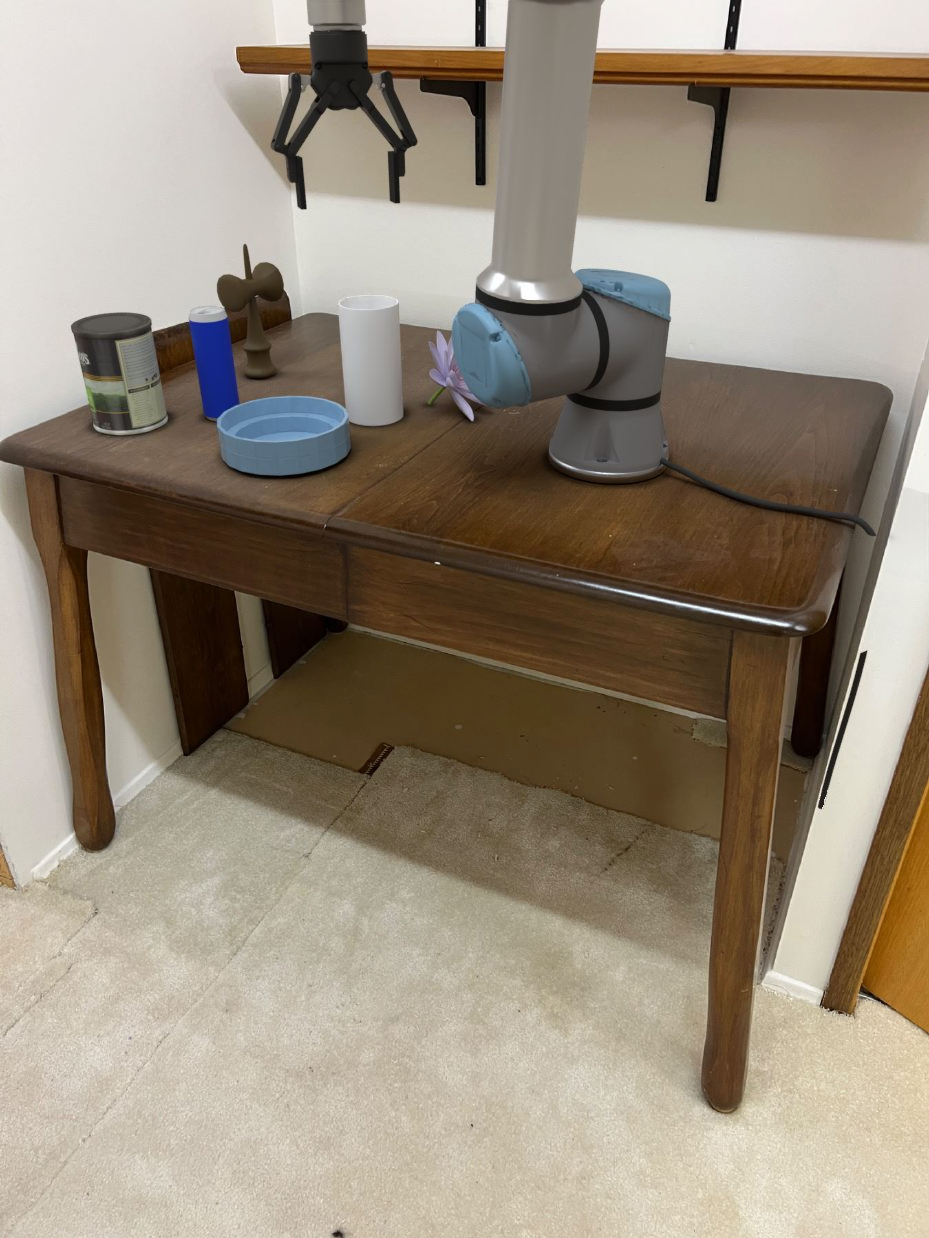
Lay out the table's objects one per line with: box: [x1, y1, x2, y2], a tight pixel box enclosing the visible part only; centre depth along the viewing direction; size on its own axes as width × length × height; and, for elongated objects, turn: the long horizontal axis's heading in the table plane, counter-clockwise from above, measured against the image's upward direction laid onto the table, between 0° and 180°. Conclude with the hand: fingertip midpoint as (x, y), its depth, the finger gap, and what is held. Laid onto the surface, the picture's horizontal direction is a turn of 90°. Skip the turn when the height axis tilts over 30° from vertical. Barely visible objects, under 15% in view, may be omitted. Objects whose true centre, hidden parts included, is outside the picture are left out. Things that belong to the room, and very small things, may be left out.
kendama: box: [216, 243, 285, 379], centre depth 145 cm, size 6×10×20 cm, turn 149°
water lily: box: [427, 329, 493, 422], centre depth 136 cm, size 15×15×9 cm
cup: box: [337, 294, 404, 427], centre depth 131 cm, size 8×8×16 cm
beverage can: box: [188, 305, 241, 422], centre depth 131 cm, size 5×5×15 cm
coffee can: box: [70, 311, 169, 436], centre depth 129 cm, size 10×10×14 cm
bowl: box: [216, 395, 352, 476], centre depth 122 cm, size 17×17×5 cm
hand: (349, 205), depth 133 cm, fingers open, 13 cm apart
